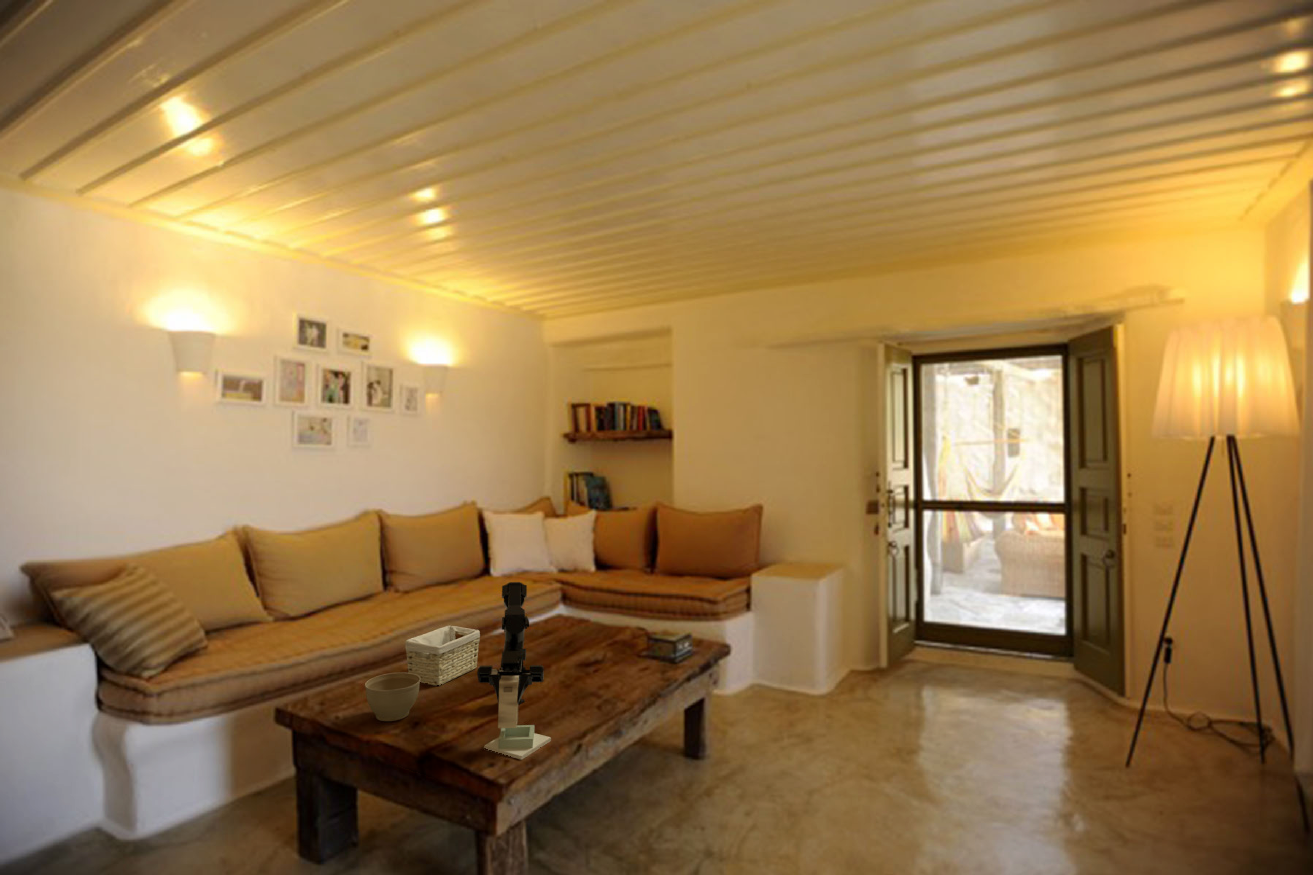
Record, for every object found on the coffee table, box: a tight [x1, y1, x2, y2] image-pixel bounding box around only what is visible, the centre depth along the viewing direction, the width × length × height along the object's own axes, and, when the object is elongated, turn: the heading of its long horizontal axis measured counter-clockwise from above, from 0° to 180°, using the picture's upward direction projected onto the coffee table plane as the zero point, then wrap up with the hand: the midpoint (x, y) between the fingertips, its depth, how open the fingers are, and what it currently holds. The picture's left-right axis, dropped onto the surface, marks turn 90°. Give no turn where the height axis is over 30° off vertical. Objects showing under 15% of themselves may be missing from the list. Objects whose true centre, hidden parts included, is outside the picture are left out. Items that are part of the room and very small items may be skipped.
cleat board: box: [483, 724, 552, 761], centre depth 193 cm, size 14×14×4 cm
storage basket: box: [405, 625, 481, 686], centre depth 249 cm, size 24×16×15 cm
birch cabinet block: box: [497, 676, 519, 729], centre depth 193 cm, size 6×5×13 cm
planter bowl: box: [364, 672, 421, 722], centre depth 211 cm, size 16×16×11 cm
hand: (508, 702), depth 192 cm, fingers closed on birch cabinet block, 5 cm apart
